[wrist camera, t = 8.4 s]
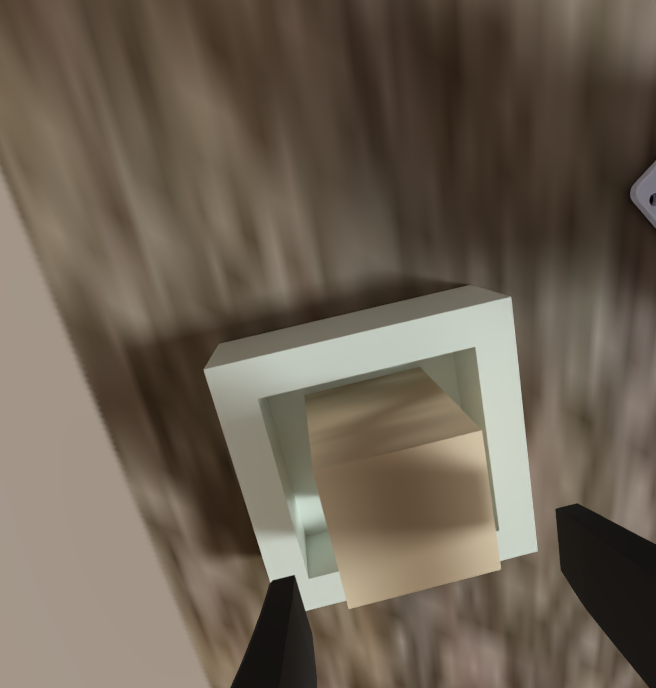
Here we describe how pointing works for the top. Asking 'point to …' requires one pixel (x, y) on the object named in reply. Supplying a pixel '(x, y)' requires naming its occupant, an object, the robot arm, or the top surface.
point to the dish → (354, 366)
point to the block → (401, 486)
